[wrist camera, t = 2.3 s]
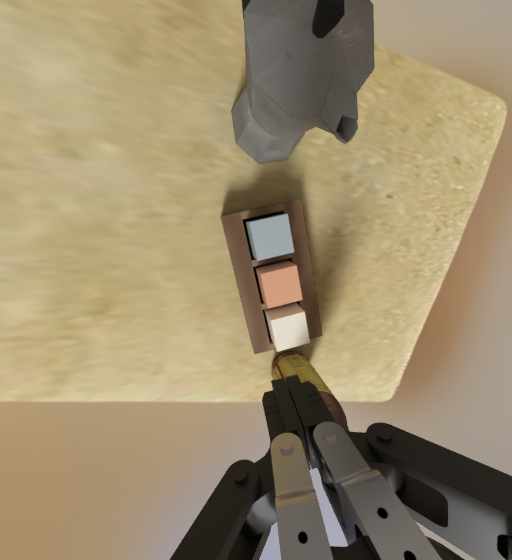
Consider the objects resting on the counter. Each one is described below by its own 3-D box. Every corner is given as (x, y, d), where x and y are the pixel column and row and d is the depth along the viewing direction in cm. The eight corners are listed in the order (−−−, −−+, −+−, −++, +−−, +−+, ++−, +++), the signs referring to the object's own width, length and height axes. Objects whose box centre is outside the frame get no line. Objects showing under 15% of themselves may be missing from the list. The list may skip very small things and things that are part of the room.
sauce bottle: (291, 390, 41) (358, 542, 21) (261, 372, 39) (305, 519, 20) (316, 359, 40) (409, 488, 21) (287, 340, 38) (359, 460, 19)
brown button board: (251, 344, 37) (254, 354, 35) (220, 216, 32) (221, 216, 30) (314, 326, 38) (322, 335, 36) (293, 200, 33) (300, 198, 31)
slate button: (252, 256, 32) (257, 260, 28) (245, 222, 31) (249, 222, 27) (285, 248, 33) (294, 252, 29) (279, 214, 32) (287, 213, 28)
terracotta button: (262, 298, 34) (268, 308, 30) (255, 267, 33) (260, 274, 29) (293, 290, 34) (302, 299, 30) (287, 260, 33) (296, 265, 29)
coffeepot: (323, 155, 33) (442, 84, 15) (262, 193, 33) (313, 164, 15) (265, 26, 28) (340, -274, 11) (194, 69, 28) (160, -165, 11)
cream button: (270, 337, 35) (277, 351, 32) (264, 309, 34) (270, 320, 30) (300, 329, 36) (310, 342, 32) (294, 301, 35) (304, 311, 31)
